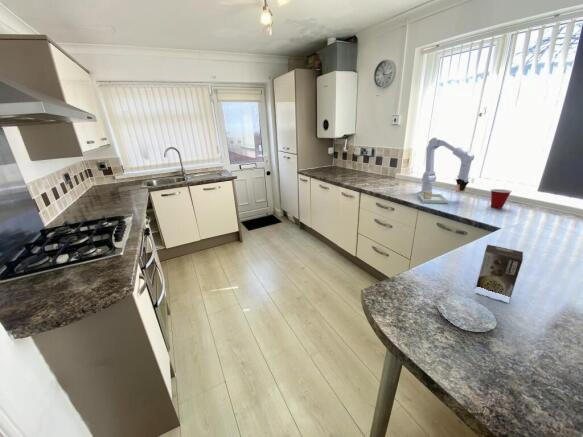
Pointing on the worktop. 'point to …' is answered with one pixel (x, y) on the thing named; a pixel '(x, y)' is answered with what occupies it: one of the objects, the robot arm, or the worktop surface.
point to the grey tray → (433, 199)
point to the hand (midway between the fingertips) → (460, 189)
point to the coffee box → (499, 270)
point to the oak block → (427, 194)
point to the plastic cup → (499, 197)
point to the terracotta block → (459, 189)
